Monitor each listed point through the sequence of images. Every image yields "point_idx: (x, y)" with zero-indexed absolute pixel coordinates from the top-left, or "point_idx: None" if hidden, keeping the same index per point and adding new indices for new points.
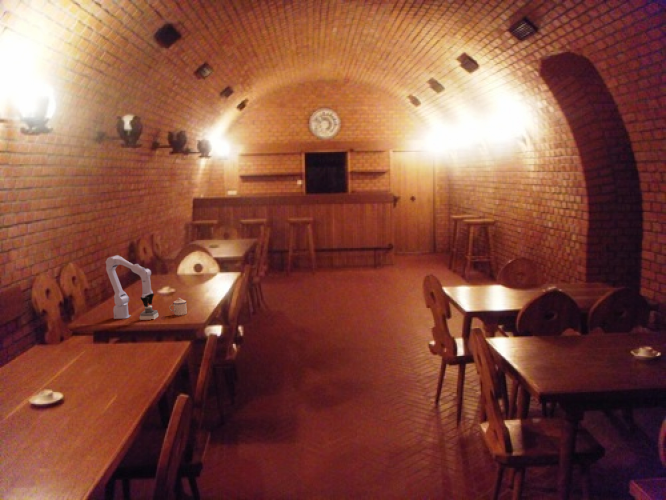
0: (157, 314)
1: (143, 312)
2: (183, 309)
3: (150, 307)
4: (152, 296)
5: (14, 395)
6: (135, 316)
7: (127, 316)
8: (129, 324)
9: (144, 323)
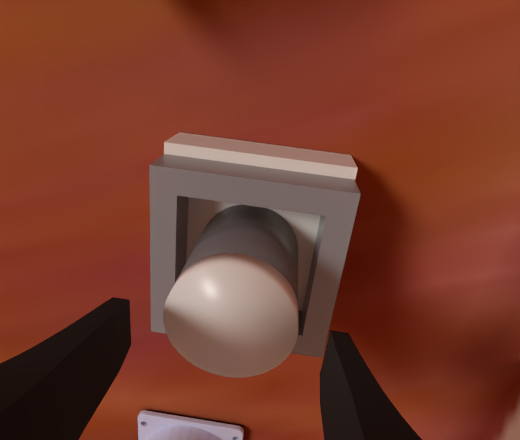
0: (205, 143)
1: None
2: None
3: (276, 276)
4: (4, 412)
5: None
6: (166, 371)
7: (202, 433)
8: (486, 371)
9: (516, 231)
